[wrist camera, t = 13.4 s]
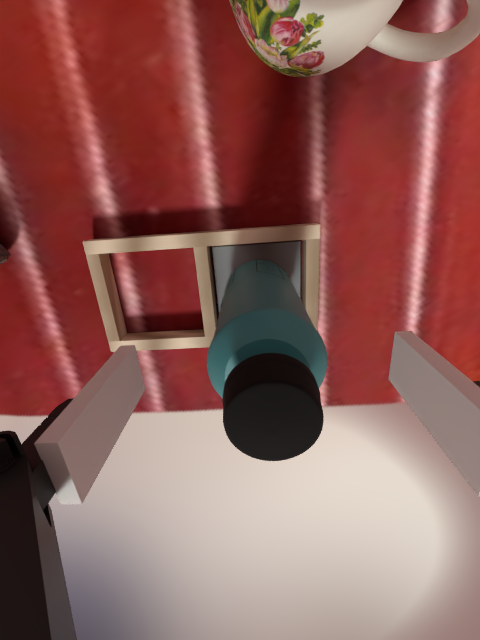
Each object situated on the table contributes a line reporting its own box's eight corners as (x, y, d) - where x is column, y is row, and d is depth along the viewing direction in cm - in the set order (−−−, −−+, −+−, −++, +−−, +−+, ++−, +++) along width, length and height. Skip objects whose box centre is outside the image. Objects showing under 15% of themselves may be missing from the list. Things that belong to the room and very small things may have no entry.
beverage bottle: (212, 283, 30) (146, 419, 11) (264, 239, 28) (289, 313, 9) (254, 329, 31) (257, 514, 13) (305, 290, 30) (396, 439, 11)
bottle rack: (118, 343, 33) (111, 351, 31) (93, 239, 29) (82, 241, 27) (313, 333, 32) (317, 341, 30) (315, 222, 28) (320, 224, 26)
